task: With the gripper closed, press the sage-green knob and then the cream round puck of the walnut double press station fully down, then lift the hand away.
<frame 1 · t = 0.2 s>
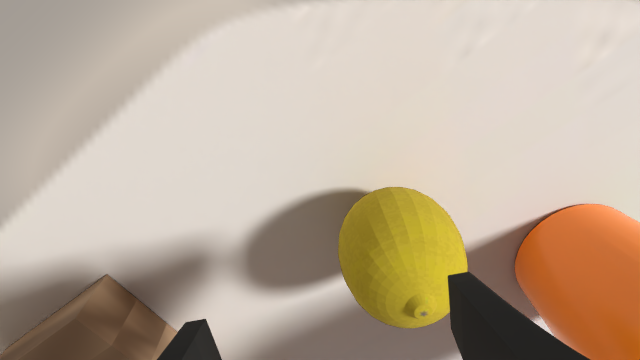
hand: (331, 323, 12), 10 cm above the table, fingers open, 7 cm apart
lemon: (381, 208, 22), on the table
shaker bottle: (570, 253, 24), on the table
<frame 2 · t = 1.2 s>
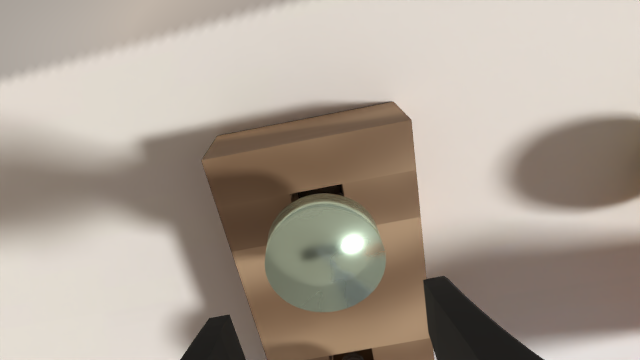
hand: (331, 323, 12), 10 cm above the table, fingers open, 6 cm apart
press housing: (333, 257, 23), on the table
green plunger: (322, 232, 16), point 5 cm above the table, slide at 0.0 cm
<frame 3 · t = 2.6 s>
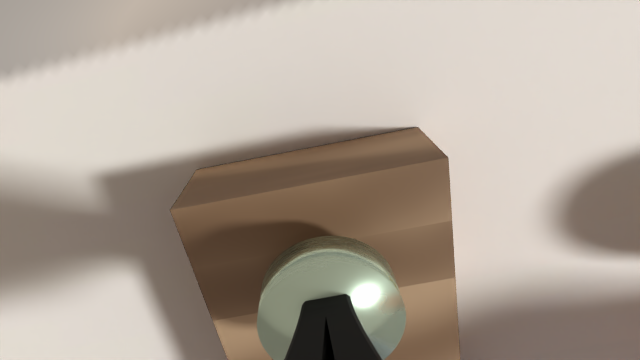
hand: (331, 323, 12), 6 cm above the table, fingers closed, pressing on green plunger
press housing: (340, 311, 19), on the table
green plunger: (327, 277, 14), point 4 cm above the table, slide at 1.5 cm, touching gripper
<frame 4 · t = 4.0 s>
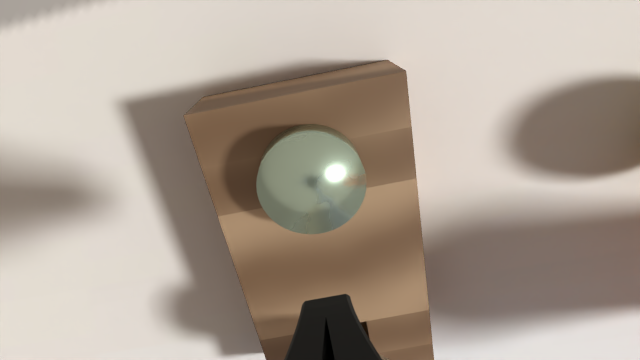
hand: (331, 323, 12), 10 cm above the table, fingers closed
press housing: (326, 229, 22), on the table
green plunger: (310, 166, 18), point 3 cm above the table, slide at 2.6 cm, touching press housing
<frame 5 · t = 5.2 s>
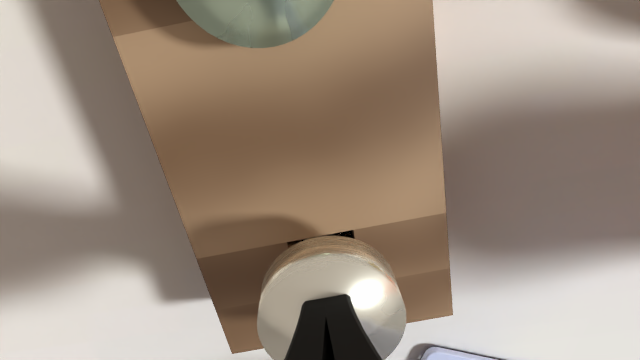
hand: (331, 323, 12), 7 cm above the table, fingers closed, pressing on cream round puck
cream round puck: (327, 277, 14), point 4 cm above the table, slide at 0.9 cm, touching gripper
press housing: (298, 108, 16), on the table
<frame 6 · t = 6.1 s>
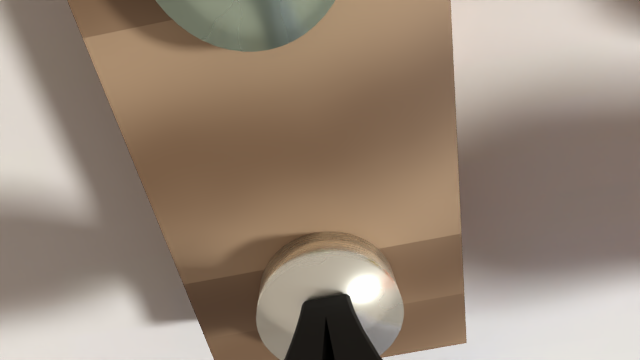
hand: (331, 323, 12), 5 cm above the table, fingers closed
cream round puck: (326, 272, 14), point 3 cm above the table, slide at 2.6 cm, touching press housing
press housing: (296, 116, 14), on the table
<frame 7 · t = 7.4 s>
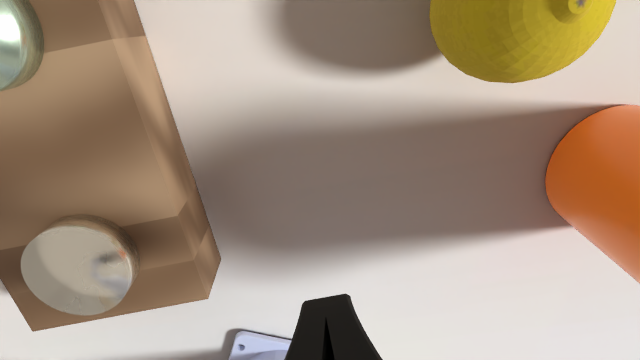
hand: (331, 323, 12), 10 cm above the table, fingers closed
cream round puck: (99, 246, 19), point 3 cm above the table, slide at 2.6 cm, touching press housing
lemon: (465, 8, 18), on the table
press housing: (84, 133, 20), on the table
shaker bottle: (604, 166, 22), on the table
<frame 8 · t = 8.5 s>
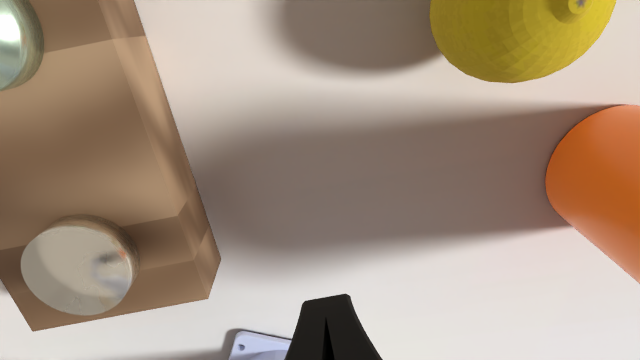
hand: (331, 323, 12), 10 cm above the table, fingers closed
cream round puck: (99, 246, 19), point 3 cm above the table, slide at 2.6 cm, touching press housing
lemon: (465, 8, 18), on the table
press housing: (84, 133, 20), on the table
shaker bottle: (604, 166, 22), on the table
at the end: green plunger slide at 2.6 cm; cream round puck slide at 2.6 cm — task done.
